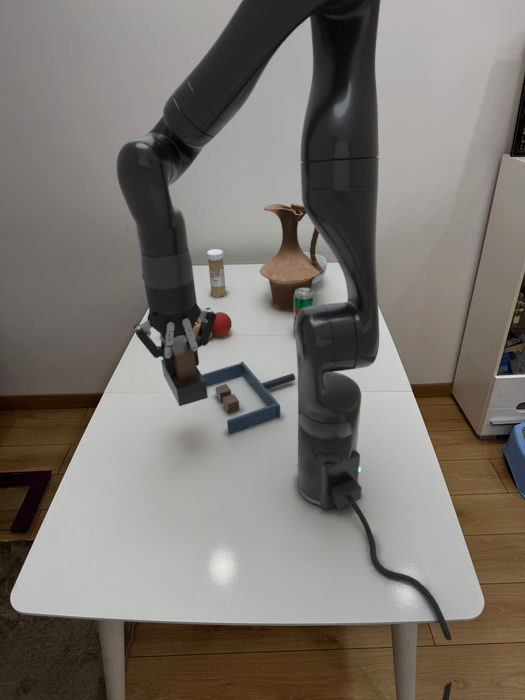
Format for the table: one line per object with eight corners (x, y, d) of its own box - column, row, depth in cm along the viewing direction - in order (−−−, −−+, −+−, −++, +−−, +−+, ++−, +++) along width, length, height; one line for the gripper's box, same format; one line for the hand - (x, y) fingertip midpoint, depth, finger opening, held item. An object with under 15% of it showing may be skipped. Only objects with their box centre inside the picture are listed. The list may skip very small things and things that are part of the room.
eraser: (208, 398, 82) (202, 355, 78) (179, 406, 81) (172, 363, 76) (190, 368, 90) (184, 328, 86) (163, 375, 88) (156, 335, 84)
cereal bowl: (300, 267, 160) (300, 247, 156) (337, 282, 149) (338, 261, 145) (260, 282, 151) (259, 261, 147) (296, 300, 140) (296, 277, 136)
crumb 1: (231, 399, 102) (230, 389, 101) (220, 403, 101) (219, 393, 100) (227, 393, 104) (226, 383, 103) (216, 396, 103) (215, 387, 102)
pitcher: (327, 292, 143) (331, 196, 129) (316, 319, 130) (318, 215, 115) (270, 287, 148) (267, 194, 133) (253, 313, 134) (248, 212, 119)
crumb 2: (239, 410, 99) (238, 400, 98) (228, 413, 98) (227, 404, 97) (234, 403, 101) (233, 393, 99) (223, 407, 100) (222, 397, 99)
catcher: (315, 404, 99) (315, 393, 98) (229, 434, 93) (228, 422, 91) (274, 362, 113) (274, 351, 111) (198, 386, 106) (196, 375, 105)
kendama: (162, 350, 122) (232, 338, 121) (155, 326, 120) (227, 314, 118) (168, 339, 129) (234, 328, 128) (162, 317, 127) (229, 305, 126)
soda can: (312, 339, 121) (313, 296, 115) (292, 338, 122) (291, 295, 116) (314, 329, 125) (315, 287, 119) (295, 328, 126) (295, 286, 120)
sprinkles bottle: (208, 295, 145) (203, 253, 138) (216, 289, 148) (212, 247, 141) (221, 298, 143) (217, 255, 136) (229, 292, 146) (225, 249, 139)
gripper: (127, 295, 69) (147, 393, 78) (220, 276, 74) (228, 370, 83) (117, 277, 75) (137, 370, 84) (204, 260, 80) (214, 349, 89)
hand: (182, 369), depth 83 cm, fingers closed on eraser, 3 cm apart
